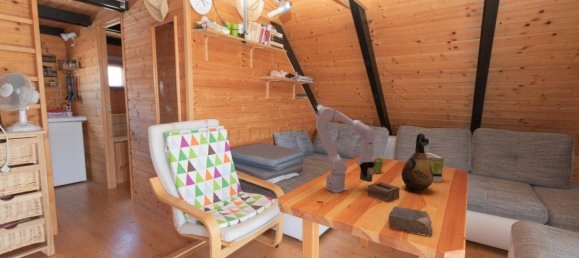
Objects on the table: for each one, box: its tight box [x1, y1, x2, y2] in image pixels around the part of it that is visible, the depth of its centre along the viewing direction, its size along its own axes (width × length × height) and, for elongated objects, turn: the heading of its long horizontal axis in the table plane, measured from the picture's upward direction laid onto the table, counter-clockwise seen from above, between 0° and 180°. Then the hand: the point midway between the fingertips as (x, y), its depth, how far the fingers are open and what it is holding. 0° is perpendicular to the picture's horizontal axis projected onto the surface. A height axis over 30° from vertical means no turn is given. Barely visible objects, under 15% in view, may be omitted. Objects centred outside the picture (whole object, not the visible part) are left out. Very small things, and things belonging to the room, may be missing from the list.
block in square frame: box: [367, 181, 401, 203], centre depth 135 cm, size 10×11×5 cm
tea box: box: [425, 152, 445, 183], centre depth 166 cm, size 15×10×15 cm
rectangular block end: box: [359, 167, 374, 183], centre depth 145 cm, size 2×6×7 cm, turn 38°
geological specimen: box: [388, 206, 433, 237], centre depth 105 cm, size 11×6×15 cm
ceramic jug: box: [401, 132, 434, 194], centre depth 145 cm, size 17×15×30 cm
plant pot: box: [373, 157, 385, 174], centre depth 178 cm, size 9×9×9 cm
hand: (366, 175), depth 145 cm, fingers closed on rectangular block end, 2 cm apart
